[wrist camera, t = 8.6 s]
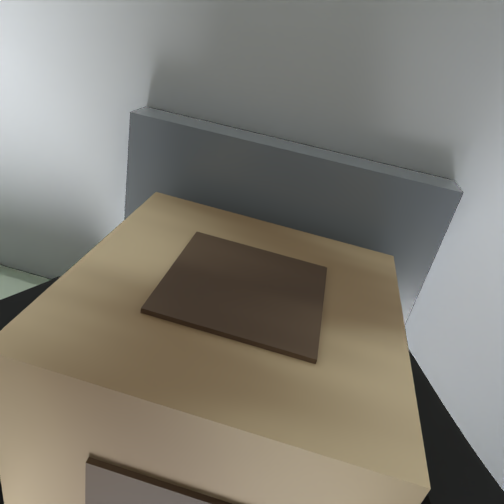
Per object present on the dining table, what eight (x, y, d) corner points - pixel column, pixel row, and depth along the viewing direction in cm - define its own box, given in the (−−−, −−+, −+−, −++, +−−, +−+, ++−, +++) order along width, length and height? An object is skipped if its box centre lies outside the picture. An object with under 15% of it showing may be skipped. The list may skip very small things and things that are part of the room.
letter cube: (395, 253, 9) (434, 491, 4) (324, 421, 11) (305, 679, 7) (156, 188, 9) (-27, 347, 5) (139, 364, 12) (11, 575, 7)
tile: (455, 180, 9) (463, 192, 9) (357, 409, 13) (358, 431, 12) (145, 106, 10) (129, 112, 9) (129, 342, 13) (116, 359, 13)
